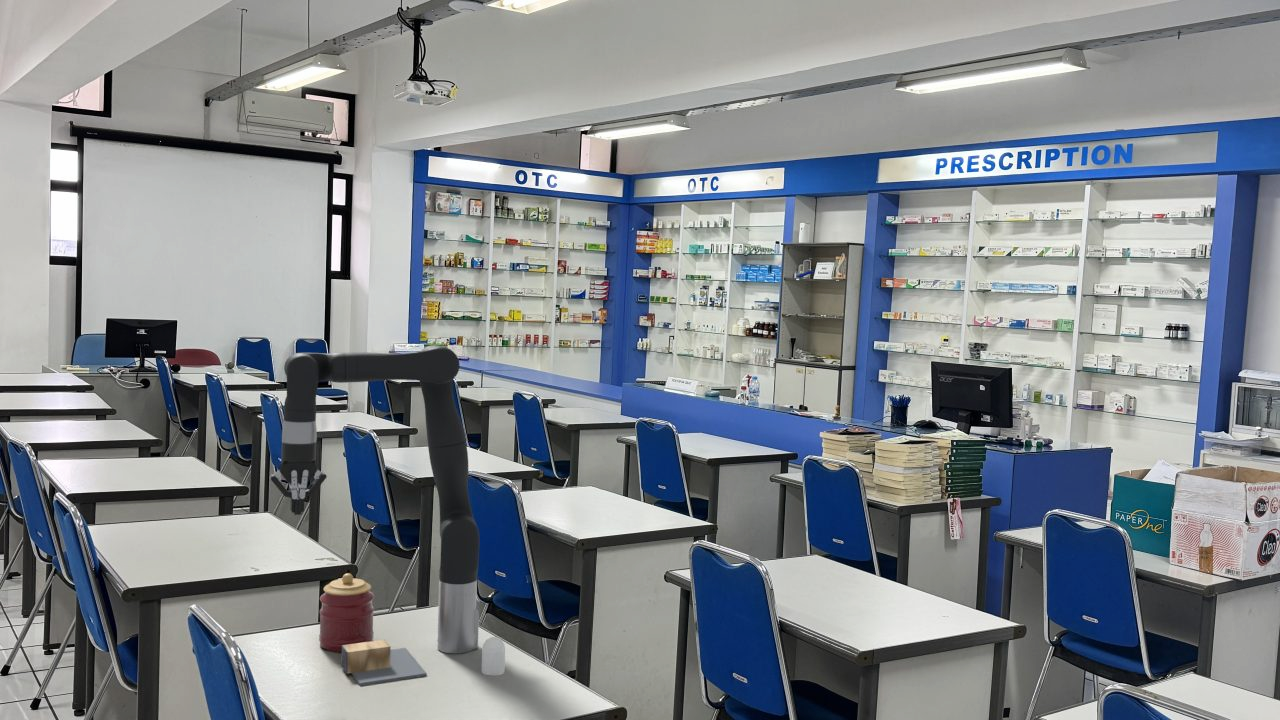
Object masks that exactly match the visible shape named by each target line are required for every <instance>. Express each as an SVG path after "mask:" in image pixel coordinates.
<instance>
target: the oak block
mask: <svg viewBox="0 0 1280 720" xmlns="http://www.w3.org/2000/svg"><path fill="white" fill-rule="evenodd" d="M390 650H392V649H391V645H390V644H389V643H388V642H387V641H386V639H379V640H372V641H371V642H363V643H355V644H348V645H342V652H341V661H340V662H341V663H340V665H341V668H342V669H343V671H344V673H345V674H348V675H349V674H352V673H356V672H363V671H370V670H377V669H383V668H390Z"/></svg>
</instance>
